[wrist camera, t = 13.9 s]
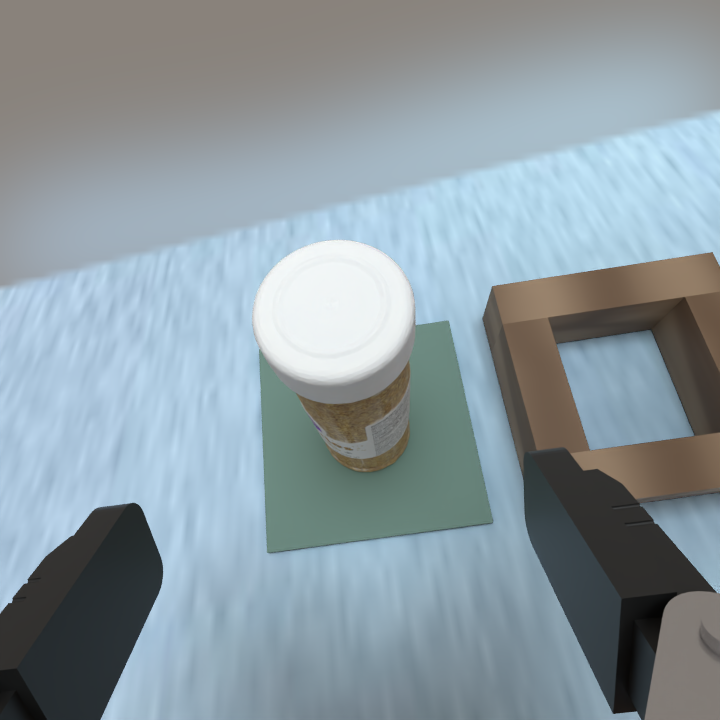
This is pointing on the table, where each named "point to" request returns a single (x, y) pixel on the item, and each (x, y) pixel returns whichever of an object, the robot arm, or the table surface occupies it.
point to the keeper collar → (604, 318)
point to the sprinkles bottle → (343, 346)
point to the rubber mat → (382, 487)
